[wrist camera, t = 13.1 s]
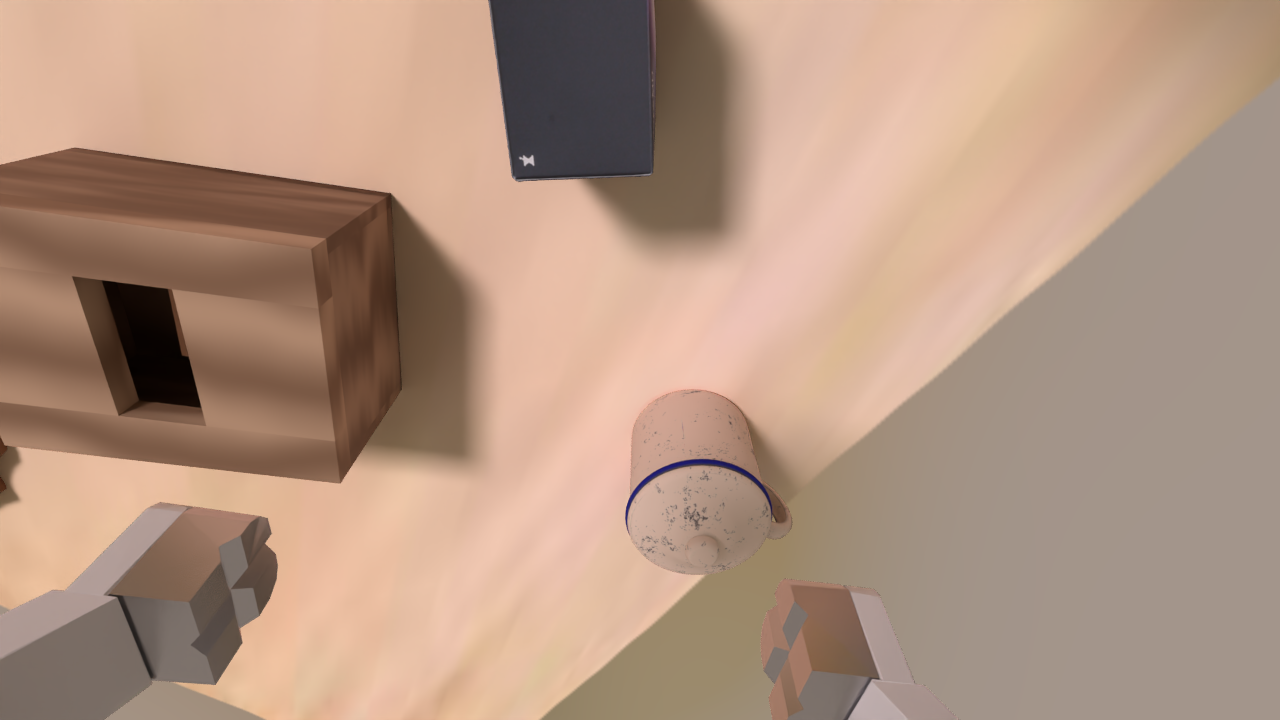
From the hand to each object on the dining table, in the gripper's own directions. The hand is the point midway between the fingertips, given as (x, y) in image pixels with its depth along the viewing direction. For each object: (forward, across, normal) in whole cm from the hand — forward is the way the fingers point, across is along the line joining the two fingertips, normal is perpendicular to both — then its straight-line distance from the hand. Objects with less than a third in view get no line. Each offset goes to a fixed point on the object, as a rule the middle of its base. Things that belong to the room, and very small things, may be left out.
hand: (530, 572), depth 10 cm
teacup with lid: (+30, -10, +19) cm, 37 cm away
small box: (+30, +2, -6) cm, 31 cm away
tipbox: (+30, +22, +11) cm, 38 cm away
